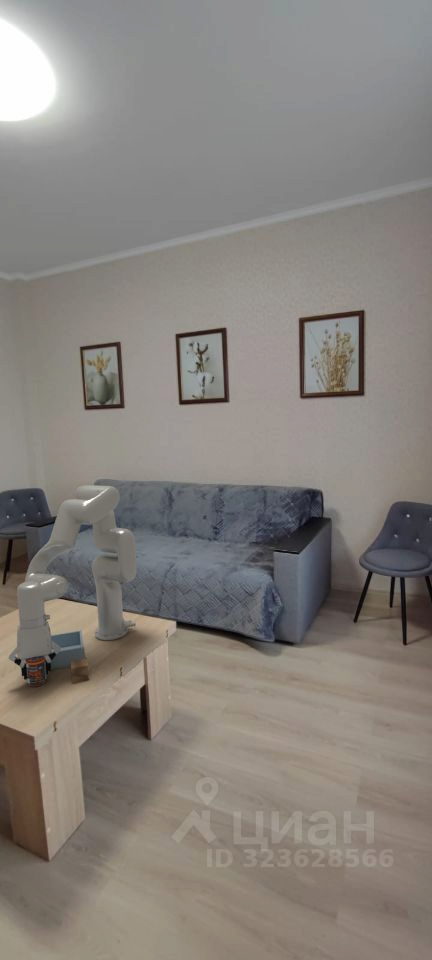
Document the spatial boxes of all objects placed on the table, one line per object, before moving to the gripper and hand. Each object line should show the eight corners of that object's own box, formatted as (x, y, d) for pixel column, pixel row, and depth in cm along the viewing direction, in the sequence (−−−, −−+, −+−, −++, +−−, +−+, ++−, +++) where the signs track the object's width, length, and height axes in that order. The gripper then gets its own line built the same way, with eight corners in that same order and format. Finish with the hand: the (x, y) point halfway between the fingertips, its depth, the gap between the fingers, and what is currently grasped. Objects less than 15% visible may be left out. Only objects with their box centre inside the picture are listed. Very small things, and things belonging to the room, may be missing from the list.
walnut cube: (87, 672, 151) (86, 658, 150) (88, 680, 146) (87, 665, 146) (71, 675, 149) (70, 660, 149) (72, 683, 145) (71, 668, 144)
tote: (82, 644, 170) (81, 630, 170) (84, 663, 157) (83, 647, 156) (32, 653, 165) (30, 638, 164) (29, 673, 151) (28, 657, 150)
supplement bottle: (27, 689, 142) (24, 655, 140) (27, 680, 147) (24, 646, 146) (48, 684, 144) (45, 650, 143) (46, 675, 150) (44, 642, 148)
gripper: (61, 612, 150) (65, 664, 152) (3, 620, 144) (8, 674, 146) (61, 621, 142) (65, 675, 145) (1, 630, 137) (6, 687, 139)
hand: (36, 674), depth 145 cm, fingers closed on supplement bottle, 6 cm apart
